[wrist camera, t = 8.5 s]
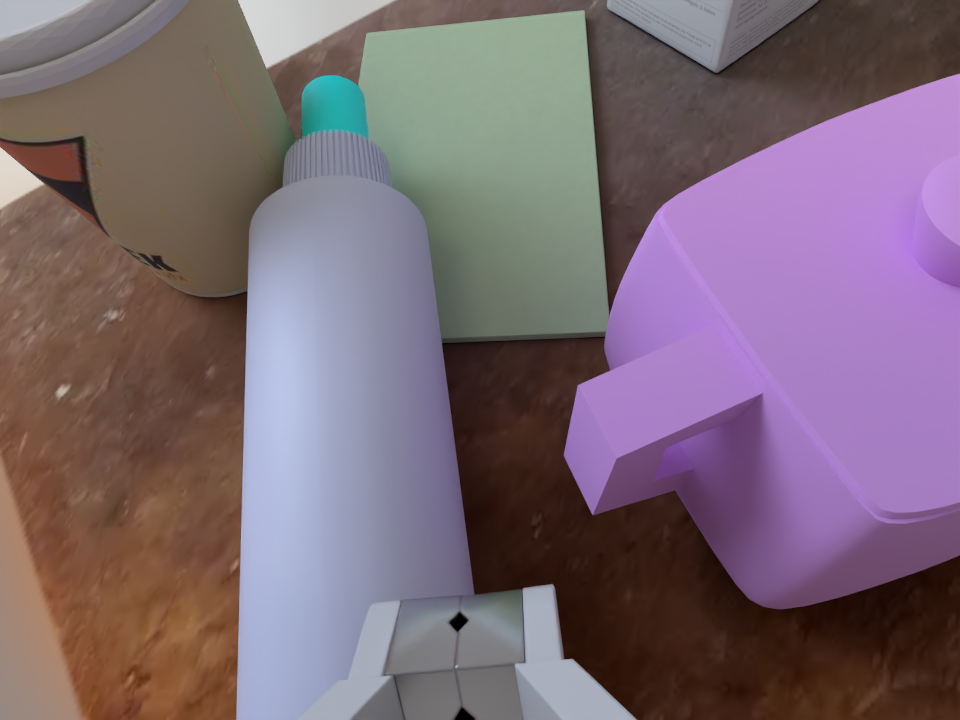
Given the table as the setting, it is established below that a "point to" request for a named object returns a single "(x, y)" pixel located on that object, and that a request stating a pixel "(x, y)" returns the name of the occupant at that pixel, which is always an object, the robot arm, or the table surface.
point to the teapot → (797, 357)
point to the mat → (497, 170)
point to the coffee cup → (147, 126)
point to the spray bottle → (339, 414)
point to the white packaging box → (711, 24)
